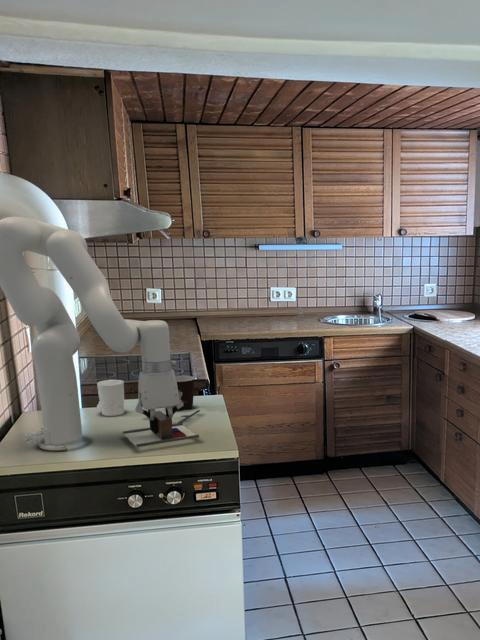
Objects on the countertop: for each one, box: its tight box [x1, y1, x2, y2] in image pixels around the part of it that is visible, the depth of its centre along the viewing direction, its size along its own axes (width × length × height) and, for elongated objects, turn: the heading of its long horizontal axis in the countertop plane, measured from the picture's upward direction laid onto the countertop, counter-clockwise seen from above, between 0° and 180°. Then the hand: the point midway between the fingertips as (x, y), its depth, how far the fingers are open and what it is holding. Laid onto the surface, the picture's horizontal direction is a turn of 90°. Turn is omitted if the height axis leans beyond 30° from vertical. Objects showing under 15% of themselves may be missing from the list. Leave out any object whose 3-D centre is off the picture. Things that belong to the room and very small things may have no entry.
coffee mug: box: [175, 375, 196, 412], centre depth 226 cm, size 12×9×10 cm
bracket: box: [164, 409, 201, 423], centre depth 214 cm, size 14×15×3 cm
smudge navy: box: [172, 428, 181, 433], centre depth 198 cm, size 4×4×1 cm
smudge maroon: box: [172, 432, 186, 438], centre depth 194 cm, size 4×4×1 cm
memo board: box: [122, 422, 200, 448], centre depth 194 cm, size 17×14×2 cm
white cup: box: [96, 379, 125, 417], centre depth 219 cm, size 8×8×10 cm
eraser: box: [155, 410, 173, 440], centre depth 193 cm, size 3×10×6 cm, turn 32°
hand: (161, 431), depth 194 cm, fingers closed on eraser, 3 cm apart
